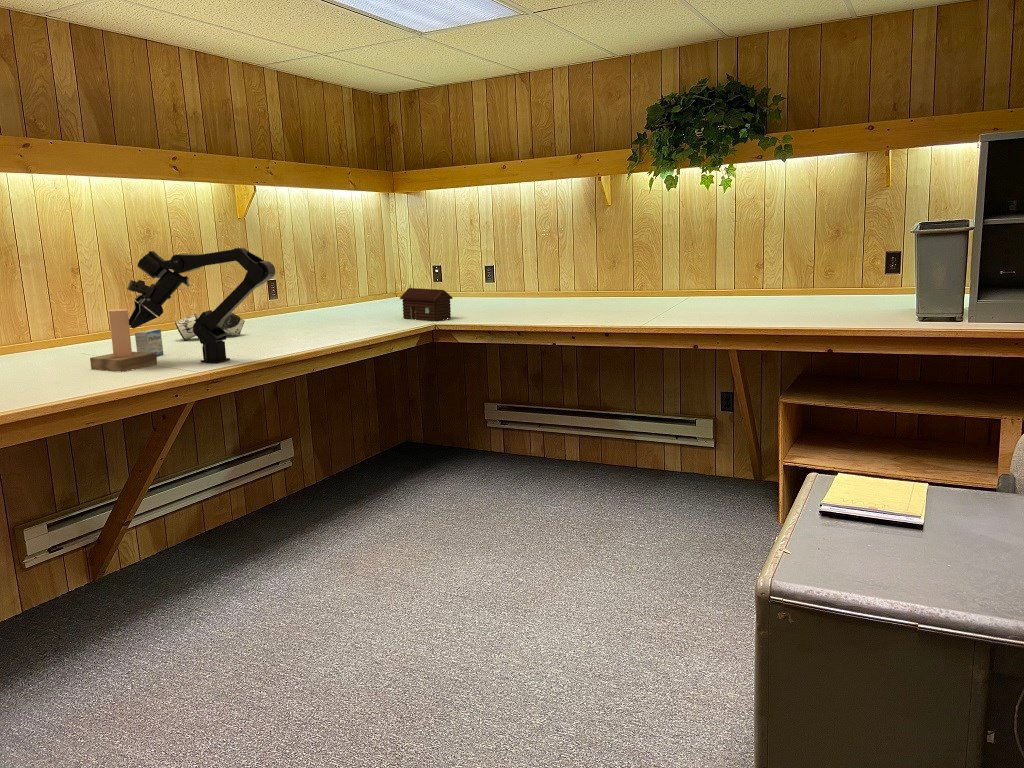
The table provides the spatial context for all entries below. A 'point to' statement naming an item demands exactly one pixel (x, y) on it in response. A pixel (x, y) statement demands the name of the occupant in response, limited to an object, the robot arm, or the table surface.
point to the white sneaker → (230, 326)
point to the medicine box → (149, 341)
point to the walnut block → (123, 361)
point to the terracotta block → (120, 333)
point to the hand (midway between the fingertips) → (129, 326)
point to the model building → (426, 304)
